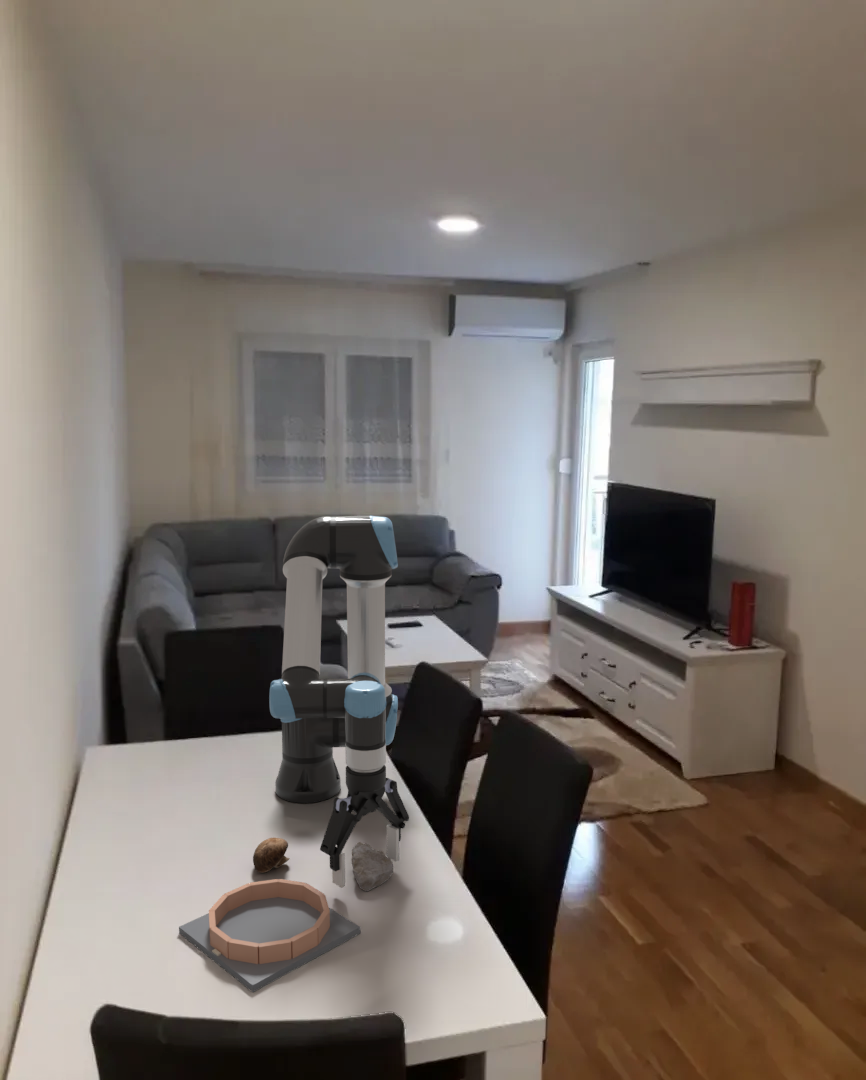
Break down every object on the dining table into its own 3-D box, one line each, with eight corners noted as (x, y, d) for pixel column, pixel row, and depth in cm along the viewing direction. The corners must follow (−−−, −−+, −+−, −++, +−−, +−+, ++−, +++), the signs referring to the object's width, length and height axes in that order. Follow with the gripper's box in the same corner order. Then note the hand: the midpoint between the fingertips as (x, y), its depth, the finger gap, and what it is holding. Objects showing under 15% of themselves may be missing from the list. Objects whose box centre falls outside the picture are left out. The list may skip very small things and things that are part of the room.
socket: (283, 884, 172) (283, 864, 171) (360, 933, 157) (360, 910, 156) (179, 933, 156) (178, 910, 156) (252, 992, 141) (252, 967, 140)
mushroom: (304, 846, 180) (284, 825, 178) (287, 879, 173) (266, 857, 171) (278, 855, 184) (258, 834, 182) (260, 887, 177) (239, 866, 176)
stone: (335, 875, 176) (335, 846, 175) (370, 862, 180) (370, 834, 180) (363, 897, 168) (363, 868, 167) (399, 883, 173) (399, 854, 172)
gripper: (400, 742, 181) (400, 841, 184) (299, 778, 163) (301, 888, 167) (427, 752, 176) (426, 854, 179) (325, 791, 158) (327, 904, 161)
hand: (366, 871), depth 173 cm, fingers open, 13 cm apart
